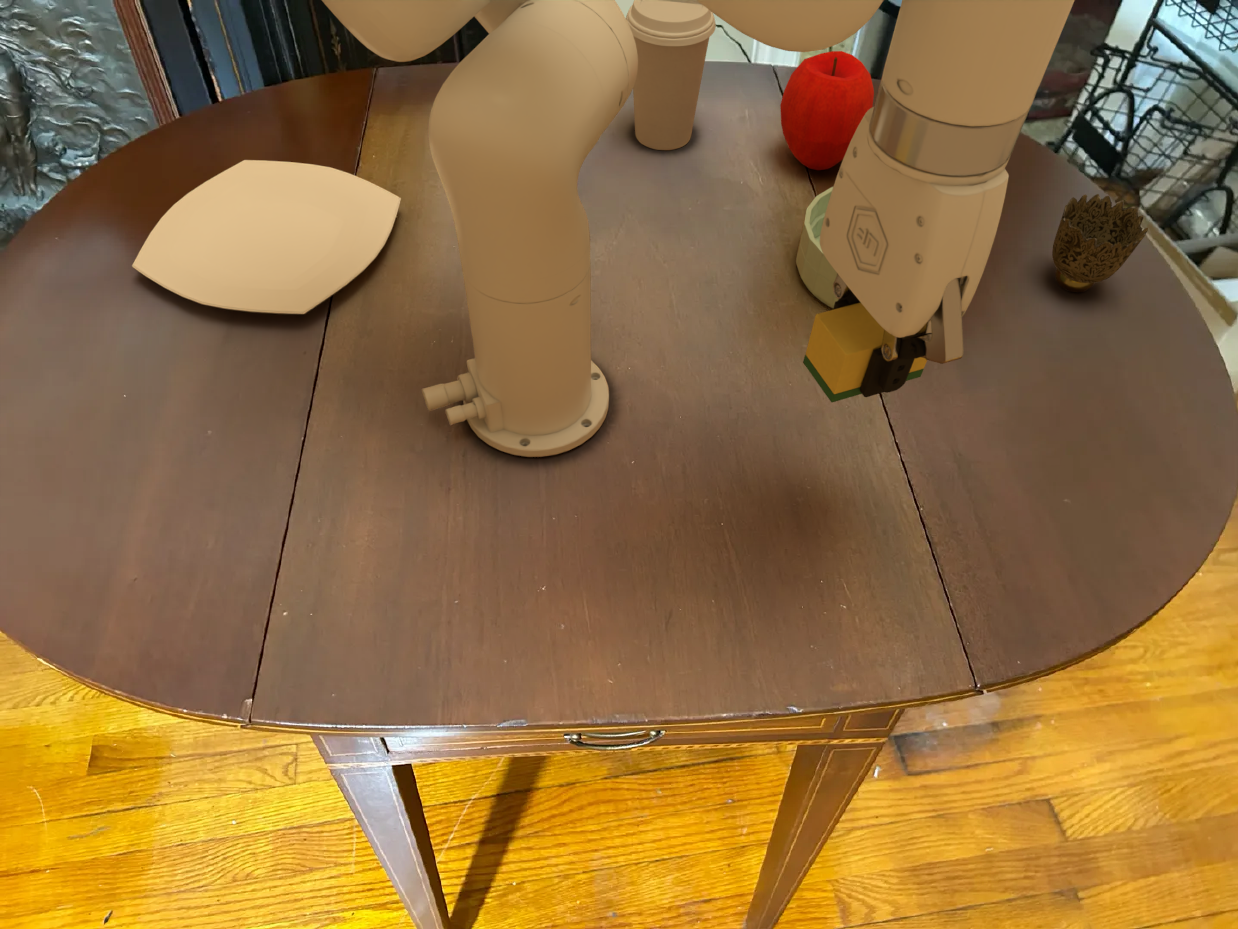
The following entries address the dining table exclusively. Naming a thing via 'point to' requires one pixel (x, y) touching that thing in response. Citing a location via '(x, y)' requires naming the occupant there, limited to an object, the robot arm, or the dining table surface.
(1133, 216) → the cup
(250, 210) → the plate
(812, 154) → the apple
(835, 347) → the sponge
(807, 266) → the bowl
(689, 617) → the dining table surface
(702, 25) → the coffee cup
